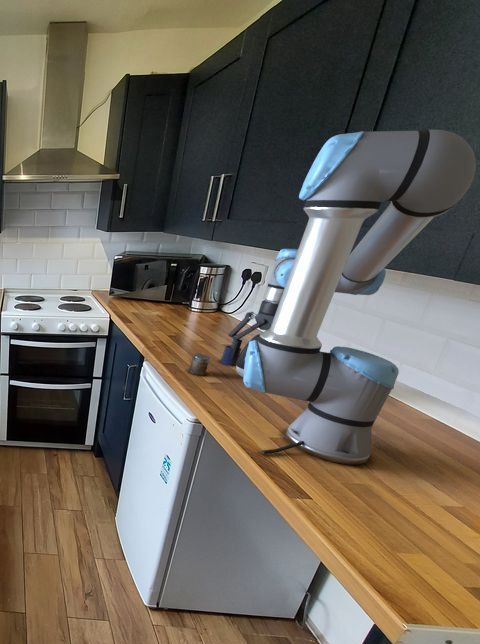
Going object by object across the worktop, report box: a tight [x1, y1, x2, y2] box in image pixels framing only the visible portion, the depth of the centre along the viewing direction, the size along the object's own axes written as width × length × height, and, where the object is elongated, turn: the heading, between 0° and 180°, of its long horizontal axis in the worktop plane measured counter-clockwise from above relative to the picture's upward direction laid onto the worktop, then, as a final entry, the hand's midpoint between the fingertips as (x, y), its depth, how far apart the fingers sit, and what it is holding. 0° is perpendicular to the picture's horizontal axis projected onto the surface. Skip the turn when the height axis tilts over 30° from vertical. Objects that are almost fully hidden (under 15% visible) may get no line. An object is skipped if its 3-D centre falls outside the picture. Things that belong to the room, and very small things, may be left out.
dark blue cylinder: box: [220, 345, 242, 367], centre depth 145 cm, size 5×5×6 cm
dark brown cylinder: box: [188, 353, 211, 377], centre depth 135 cm, size 5×5×6 cm
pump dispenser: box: [235, 333, 261, 378], centre depth 131 cm, size 10×10×15 cm
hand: (254, 365), depth 133 cm, fingers open, 13 cm apart
